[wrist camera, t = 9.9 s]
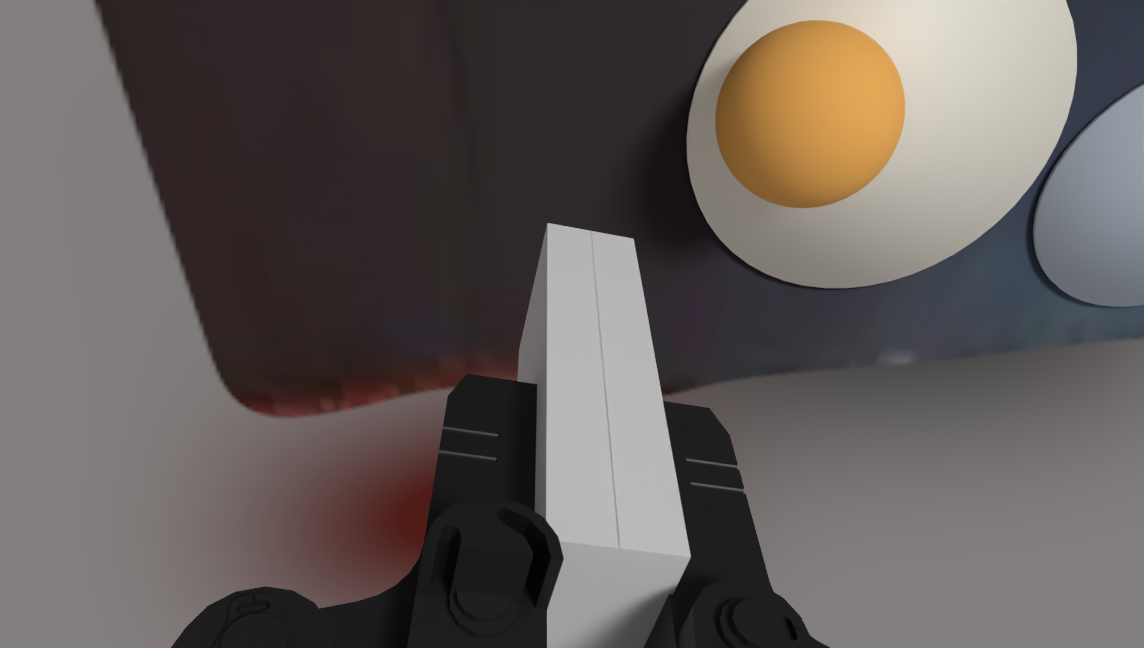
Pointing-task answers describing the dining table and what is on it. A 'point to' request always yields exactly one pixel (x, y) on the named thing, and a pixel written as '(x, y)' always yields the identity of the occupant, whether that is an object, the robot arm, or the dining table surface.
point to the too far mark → (1097, 210)
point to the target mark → (903, 136)
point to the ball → (810, 114)
